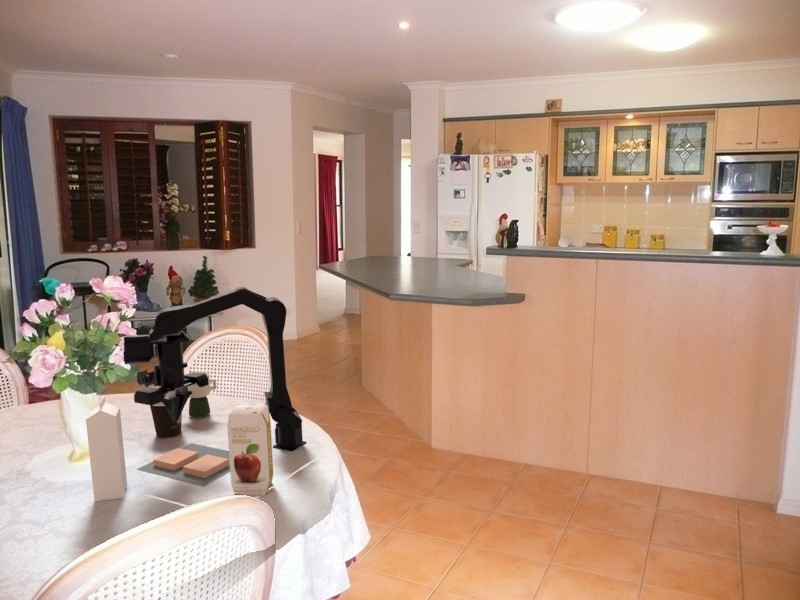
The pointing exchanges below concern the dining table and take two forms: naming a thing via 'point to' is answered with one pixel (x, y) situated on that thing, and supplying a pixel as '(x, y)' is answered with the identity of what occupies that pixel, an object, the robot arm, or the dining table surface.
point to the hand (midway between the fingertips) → (175, 421)
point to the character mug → (200, 398)
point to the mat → (188, 478)
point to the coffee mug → (164, 422)
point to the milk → (106, 452)
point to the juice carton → (250, 449)
